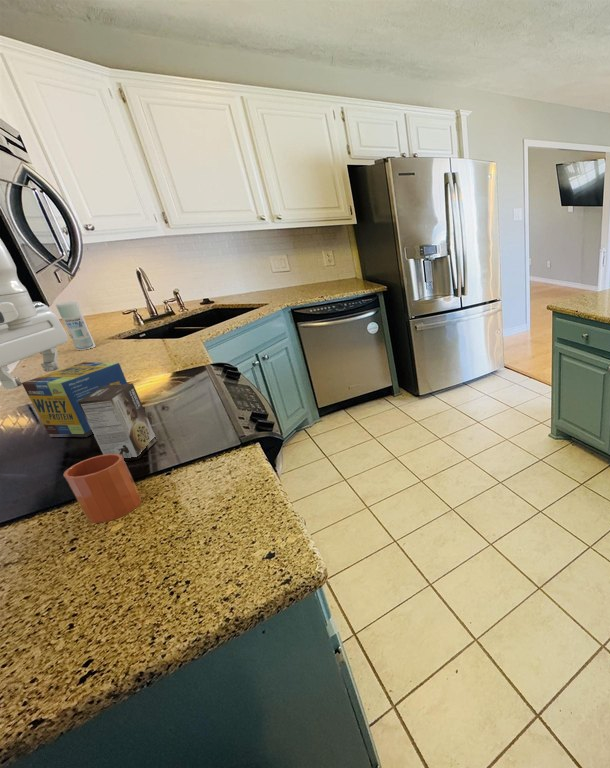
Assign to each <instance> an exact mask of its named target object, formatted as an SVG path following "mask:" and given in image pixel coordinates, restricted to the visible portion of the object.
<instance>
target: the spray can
mask: <svg viewBox="0 0 610 768" xmlns="http://www.w3.org/2000/svg"><path fill="white" fill-rule="evenodd" d="M55 307H56V309H57V312H58V314H59V315H60V316H59V317H60V318H61V320H62V322H63V325H64V327H65V328H66V329H65V330H66V331H67V334H68V336H69V338H70V339H71V342H72V343H73V346H74V348H75V350H76V351H77V350H84V351H87V350H86V349H89V350H91V349H90V348H93V347H95V346H96V343H95V341H94V338H93V336H92V334H91V331H90V329H89V327H88V325H87V322H86V319H85V317H84V315H83V312H82V310H81V308H80V306H79V303H78V301H65V302H59V303H55ZM93 349H94V348H93Z"/></svg>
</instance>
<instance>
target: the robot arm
mask: <svg viewBox="0 0 610 768" xmlns="http://www.w3.org/2000/svg"><path fill="white" fill-rule="evenodd" d="M64 327H65V326H63V324H62V321H60V319H59V317H58V316H57V315H56V314H55V313H54V312H53V311H52V310H51V309H50V307H49V306H48V305H46V304H45V303H42V302H41V301H33V300H32V298H31V296H30V293H29V291H28V289H27V288H26V286H25V285H24V284H22V282H21V280H20V279H19V277H18V273H17V266H16V264H15V262H14V259H13V258H12V256H11V253H10V252H9V250H8V249H7V247H6V245H5V243H4V242H3V240H2V239H1V238H0V383H1V386H2V387H3V388H4V389H5V390H12V389H13V390H14V389H17V388H19V387H20V386H23V385H22V383H23V382H21V379H20V377H19V376H13V375H11V373H10V372H9V371H10V368H9V366H8V365H12V364H14V363H16V362H19V361H22V360H25V359H28V358H30V357H33V356H35V355H38V354H39V355H42V363H40V366H41V367H42V370H43V371H44V372H46V373H47V372H56V371H58V370H59V369H60V366H59V364H58V354H59V353H58V349H57V347H59V346H62V345H64V344H67V343H68V341H69V334H68V332H66V331H67V330H66V329H65V328H64Z"/></svg>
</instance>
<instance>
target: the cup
mask: <svg viewBox="0 0 610 768" xmlns="http://www.w3.org/2000/svg"><path fill="white" fill-rule="evenodd" d="M63 478H64V480H65V481H66V483H67V485H68V487H69V489H70V491H71V492H72V494H73V496H74V498H75V500H76V502H77V504H78V505H79V508H80V510H81V511H82V513H83V515H84V516H85V518H86V520H87V521H88V522H89V523H91V524H102V523H107V522H110V521H113V520H117V519H120V518H122V517H124V516H126V515H128V514H130V513H131V512H133V511H135V509H137V508H138V507H139V506H140V505H141V504H142V496H141V494H140V491H139V489H138V487H137V485H136V483H135V480H134V478H133V476H132V473H131V472H130V469H129V468H128V466H127V462H125V461H124V459H123V456H121V455H120V454H105V455H103V454H100V455H96V456H92V457H89V458H86V459H84V460H81V461H80V462H77V463H75V464H73V465H71V466H70V467H69V468H67V469H66V470H65V471H64V472H63Z"/></svg>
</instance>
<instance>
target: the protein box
mask: <svg viewBox="0 0 610 768" xmlns="http://www.w3.org/2000/svg"><path fill="white" fill-rule="evenodd" d="M21 383H22V385H21V386H22V387H23V388H24V391H25V392H26V394H27V396H28V398H29V400H30V402H31V403H32V405H33V408H34V409H35V411H36V414H37V416H38V417H39V419H40V422H41V423H42V425H43V427H44V429H45V430H46V433H47V434H48V435H49V434H84V433H86V432H88V431H90V430H91V428H90V426H89V424H88V422H87V420H86V418H85V416H84V414H83V411H82V409H81V407H80V405H79V403H78V401H80V400H81V399H83V398H84V397H86V396H87V395H89V394H90V393H92V392H94V391H95V390H97V389H98V388H100V387H101V386H108V385H119V384H122V385H123V384H128V381H127V379H126V376H125V374H124V372H123V369H122V366H121V365H120V362H98V361H97V362H96V361H95V362H93V361H92V362H91V361H88V362H87V361H83V362H79V363H77V364H74V365H72V366H68V367H66V368H63V369H60V370H59V369H58V370H55V371H52V372H51V373H47V374H44V375H42V376H38V377H35V378H33V379H29V380H25V381H22V382H21Z"/></svg>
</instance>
